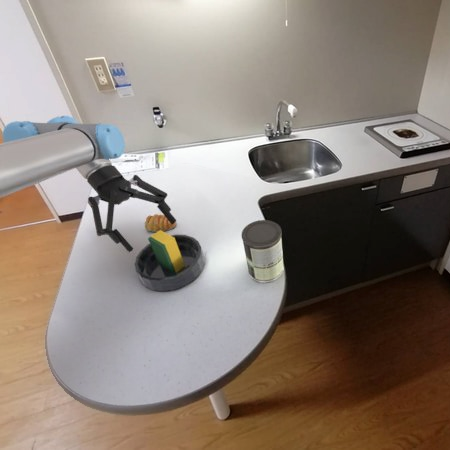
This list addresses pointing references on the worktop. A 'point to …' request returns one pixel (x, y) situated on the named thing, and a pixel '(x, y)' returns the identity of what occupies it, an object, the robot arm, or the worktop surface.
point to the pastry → (158, 223)
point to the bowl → (163, 279)
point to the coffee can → (263, 250)
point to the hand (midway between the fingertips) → (154, 236)
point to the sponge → (166, 251)
